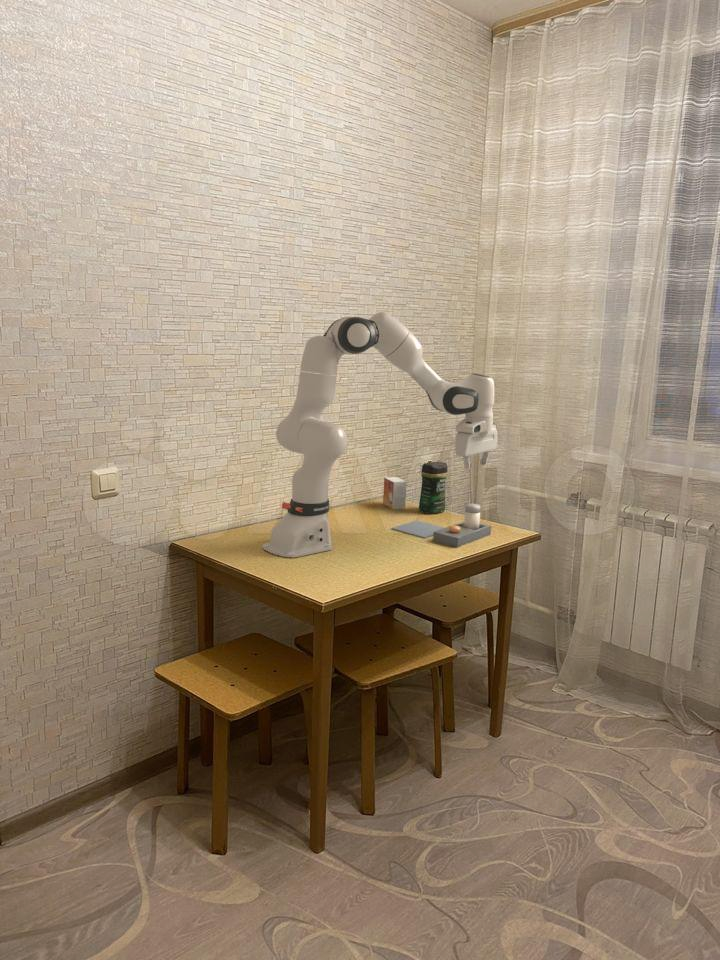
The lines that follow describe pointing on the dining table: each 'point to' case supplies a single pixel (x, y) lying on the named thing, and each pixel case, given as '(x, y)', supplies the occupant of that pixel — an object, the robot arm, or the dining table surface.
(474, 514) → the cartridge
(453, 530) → the orange flat dome
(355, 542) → the dining table surface
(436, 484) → the coffee jar
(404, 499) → the small box
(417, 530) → the mat
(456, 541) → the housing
